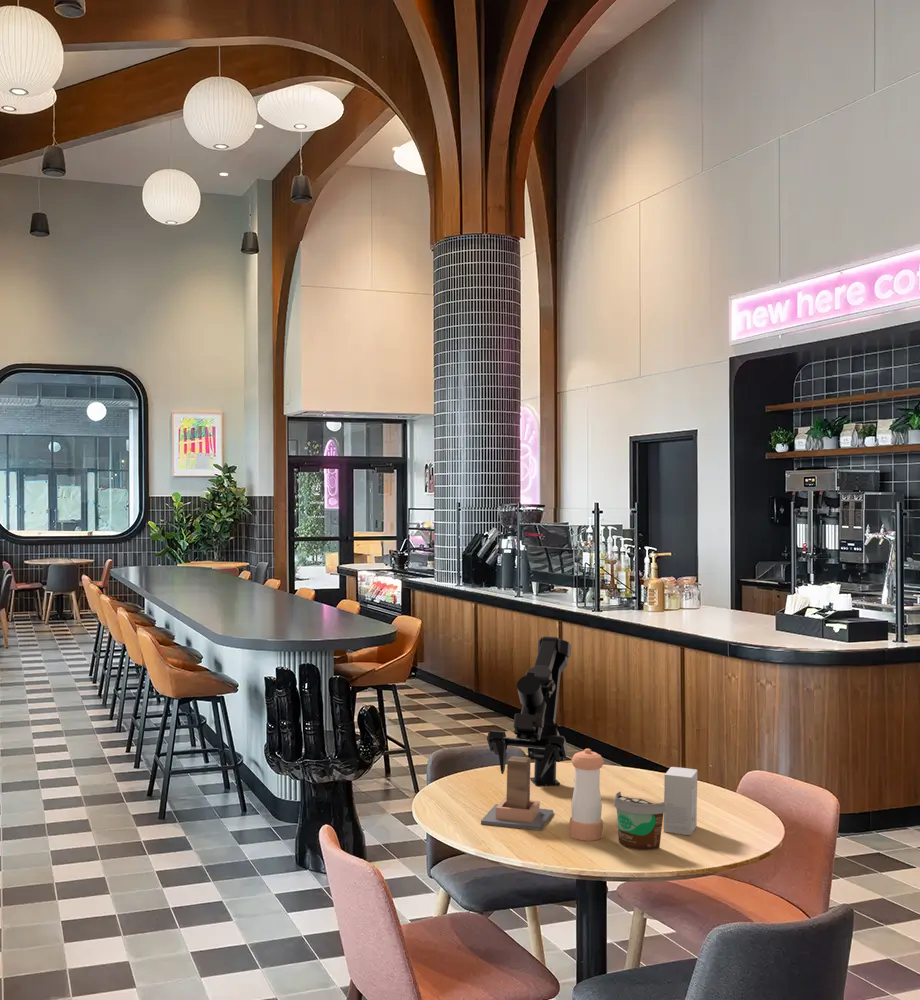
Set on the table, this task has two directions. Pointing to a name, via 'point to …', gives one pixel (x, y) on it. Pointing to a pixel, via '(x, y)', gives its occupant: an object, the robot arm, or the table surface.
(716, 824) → the table surface
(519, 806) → the walnut block
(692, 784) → the small box
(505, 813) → the jaw socket
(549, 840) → the table surface
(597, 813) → the salt shaker
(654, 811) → the food container
